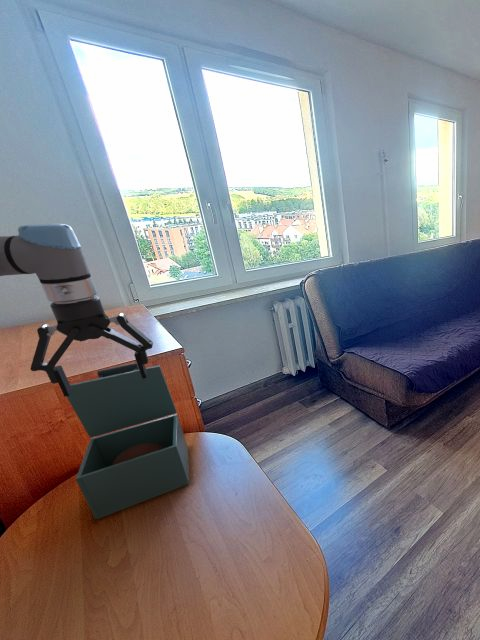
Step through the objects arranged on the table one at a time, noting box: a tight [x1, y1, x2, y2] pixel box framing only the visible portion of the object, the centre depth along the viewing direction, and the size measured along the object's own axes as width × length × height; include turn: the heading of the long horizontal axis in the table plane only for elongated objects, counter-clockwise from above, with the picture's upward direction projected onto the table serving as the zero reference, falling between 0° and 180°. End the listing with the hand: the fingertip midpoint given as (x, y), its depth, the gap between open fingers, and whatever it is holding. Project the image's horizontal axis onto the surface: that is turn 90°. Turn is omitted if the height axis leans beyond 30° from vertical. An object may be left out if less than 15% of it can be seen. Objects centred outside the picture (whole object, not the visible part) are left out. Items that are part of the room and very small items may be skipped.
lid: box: [66, 362, 178, 439], centre depth 90 cm, size 17×19×8 cm
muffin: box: [112, 443, 165, 465], centre depth 88 cm, size 12×11×10 cm
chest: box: [75, 413, 190, 520], centre depth 88 cm, size 16×19×13 cm
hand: (108, 384), depth 79 cm, fingers open, 13 cm apart
